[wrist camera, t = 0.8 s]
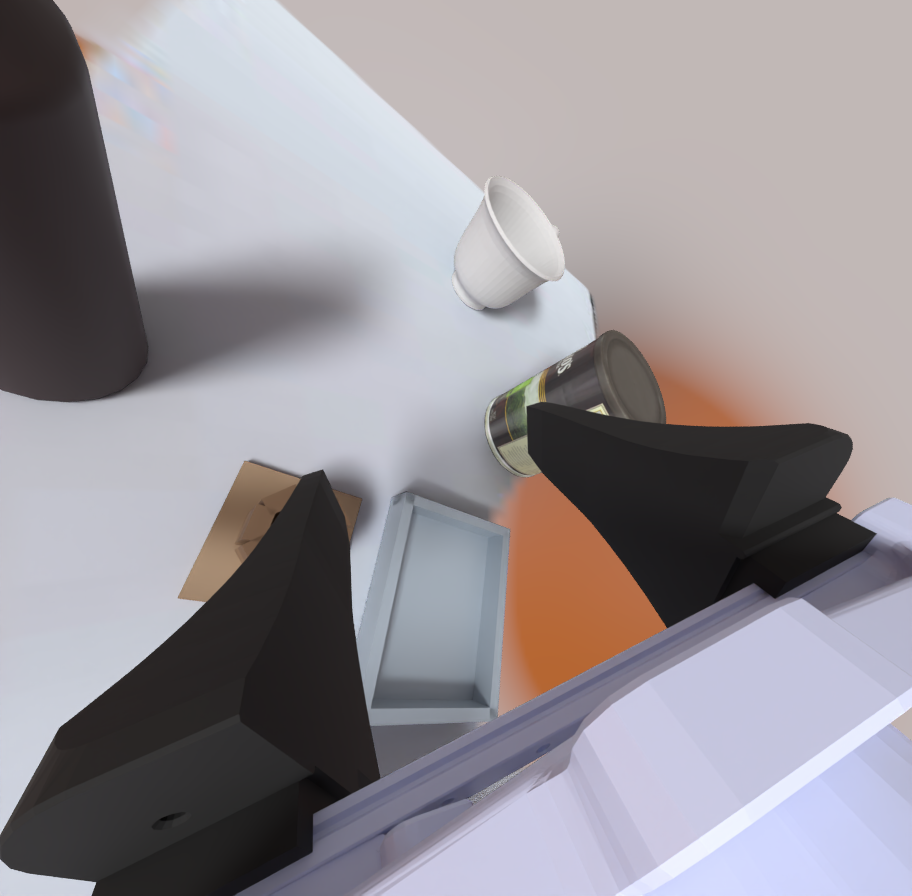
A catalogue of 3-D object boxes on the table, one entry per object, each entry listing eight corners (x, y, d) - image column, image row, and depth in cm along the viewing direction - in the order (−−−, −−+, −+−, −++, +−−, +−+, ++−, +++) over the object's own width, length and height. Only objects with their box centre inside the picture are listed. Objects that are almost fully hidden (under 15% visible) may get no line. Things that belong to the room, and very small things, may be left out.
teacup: (526, 319, 48) (587, 271, 40) (466, 342, 38) (532, 285, 30) (483, 245, 47) (538, 182, 39) (410, 249, 37) (465, 167, 29)
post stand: (325, 616, 21) (356, 627, 17) (177, 597, 17) (171, 604, 13) (359, 499, 25) (391, 485, 21) (243, 462, 21) (255, 435, 17)
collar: (313, 590, 21) (333, 593, 18) (220, 575, 18) (225, 575, 15) (338, 511, 23) (359, 502, 20) (259, 488, 21) (269, 473, 18)
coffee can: (469, 408, 35) (586, 336, 24) (520, 387, 42) (629, 324, 31) (511, 493, 35) (647, 458, 25) (556, 459, 42) (677, 420, 31)
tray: (475, 710, 25) (497, 721, 24) (339, 712, 20) (353, 726, 18) (491, 531, 32) (510, 529, 30) (391, 497, 27) (406, 491, 25)
